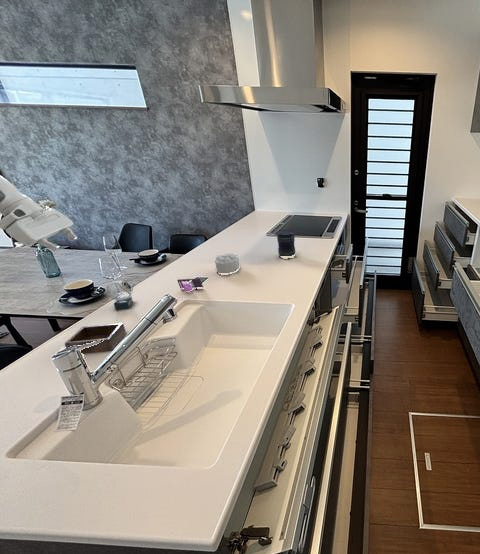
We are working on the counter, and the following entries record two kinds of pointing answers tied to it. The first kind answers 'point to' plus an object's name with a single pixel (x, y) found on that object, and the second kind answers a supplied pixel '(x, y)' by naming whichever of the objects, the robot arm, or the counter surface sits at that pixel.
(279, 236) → the storage jar
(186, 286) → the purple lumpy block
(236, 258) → the lumpy-topped squat cylinder
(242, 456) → the counter surface
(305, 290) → the counter surface
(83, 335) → the box
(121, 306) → the watch
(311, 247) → the counter surface
